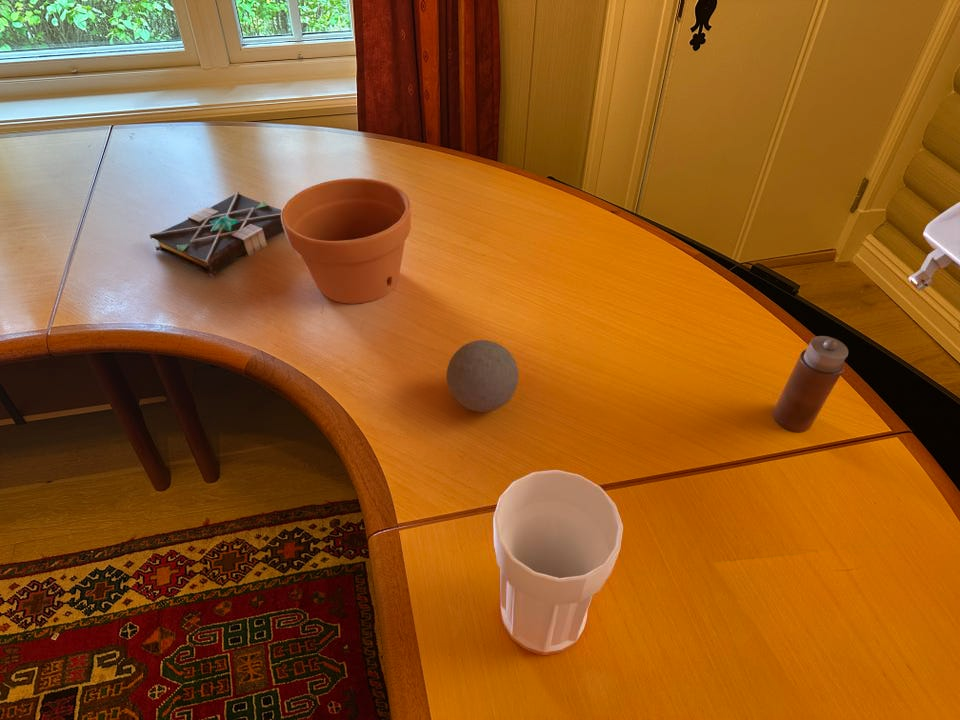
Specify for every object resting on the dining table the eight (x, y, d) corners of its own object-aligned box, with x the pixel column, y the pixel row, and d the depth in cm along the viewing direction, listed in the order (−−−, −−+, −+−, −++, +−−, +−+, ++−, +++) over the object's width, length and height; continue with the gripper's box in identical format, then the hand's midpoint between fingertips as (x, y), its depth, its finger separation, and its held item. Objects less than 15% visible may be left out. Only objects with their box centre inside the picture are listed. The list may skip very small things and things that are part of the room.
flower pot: (363, 333, 99) (350, 255, 89) (273, 291, 107) (252, 216, 97) (439, 271, 112) (435, 197, 102) (353, 238, 120) (342, 167, 110)
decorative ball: (509, 373, 92) (511, 322, 85) (523, 422, 84) (527, 370, 78) (443, 380, 90) (440, 329, 84) (452, 431, 83) (450, 379, 76)
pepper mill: (818, 430, 83) (864, 353, 74) (783, 433, 83) (823, 356, 73) (800, 403, 87) (840, 326, 78) (765, 406, 87) (802, 329, 77)
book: (212, 279, 109) (203, 255, 106) (153, 251, 116) (144, 228, 113) (299, 227, 123) (294, 205, 120) (242, 205, 130) (236, 183, 126)
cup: (569, 550, 70) (588, 456, 58) (615, 645, 62) (648, 558, 50) (476, 579, 67) (476, 486, 56) (512, 682, 59) (521, 600, 48)
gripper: (1157, 296, 60) (1010, 378, 67) (1005, 199, 75) (898, 274, 82) (1143, 263, 57) (990, 352, 63) (988, 169, 72) (877, 249, 79)
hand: (937, 307), depth 73 cm, fingers open, 8 cm apart
